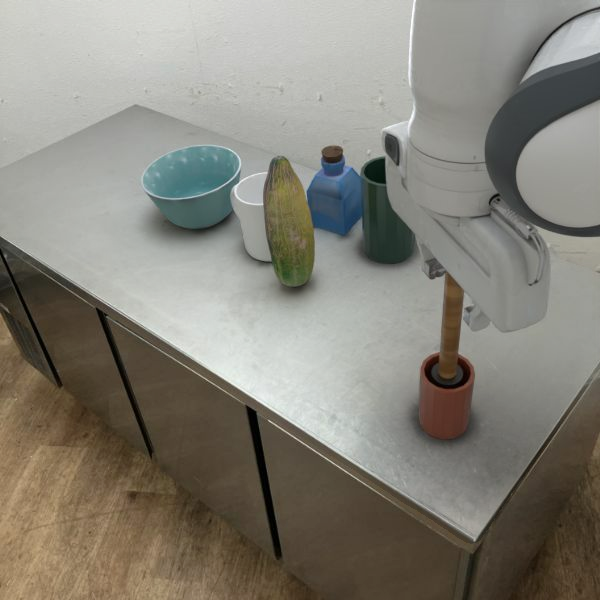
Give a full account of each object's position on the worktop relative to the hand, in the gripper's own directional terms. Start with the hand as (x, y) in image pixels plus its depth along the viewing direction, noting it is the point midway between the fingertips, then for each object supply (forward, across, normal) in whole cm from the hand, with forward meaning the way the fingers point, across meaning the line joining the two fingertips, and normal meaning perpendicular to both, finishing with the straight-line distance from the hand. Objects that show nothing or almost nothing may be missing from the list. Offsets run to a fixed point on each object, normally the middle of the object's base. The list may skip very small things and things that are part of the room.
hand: (453, 298), depth 59 cm
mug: (+18, +40, +8) cm, 45 cm away
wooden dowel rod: (+17, 0, 0) cm, 17 cm away
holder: (+18, 0, 0) cm, 18 cm away
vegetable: (+18, +28, +7) cm, 34 cm away
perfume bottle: (+18, +40, -4) cm, 44 cm away
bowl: (+18, +52, +15) cm, 57 cm away
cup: (+18, +30, -8) cm, 36 cm away
